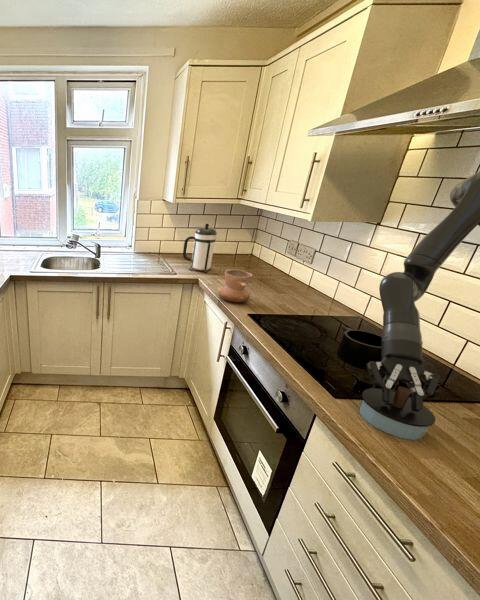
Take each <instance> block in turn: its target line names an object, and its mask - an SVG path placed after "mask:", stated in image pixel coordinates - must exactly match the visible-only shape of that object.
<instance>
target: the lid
mask: <svg viewBox="0 0 480 600" xmlns="http://www.w3.org/2000/svg"><path fill="white" fill-rule="evenodd" d="M411 395H412V394H411V390H410V389H409V388H408V387H407V386H403V385H402V386H398V387H397V389H396V391H393V404H392V405H385V402H383V401H382V389H381V388H375V387H373V388H372V387H371V388H366V389H364V390H363V391H362V393H361V398H362V401H363V400H364V401H365V403H366V404H367V405H368V406H370V407H371V408H372V409H374V410H375V411H377V412H378V413H380V414H382V415H384V416H386V417H388V418H390V419H392V420H395V421H398V422H400V423H404V424H407V425H412V426H418V427H428V426H430V427H432V426H433V425H434V424H435V423H436V420H437V419H436V416H435V414H434V413H433V412H432V411H431V410H430V409H429V408H428V407H426V406H425V405H424V404H423V409H421V410H420V411H417V412H415V411H412V410H411Z"/></svg>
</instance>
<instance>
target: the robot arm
mask: <svg viewBox="0 0 480 600" xmlns="http://www.w3.org/2000/svg"><path fill="white" fill-rule="evenodd" d="M449 200H450V202H451V204H452V205H453V209H452V211H451V212H449V214H447V215H446V217H445V218H444V219H443V220H442V221H440V222H439V223H438V224H437V225H436V226H435V227H434V228H433V229H431V230H430V231H429V232H428V233H427V234H426V235H425V236H423V238H421V240H420V241H419V242H418V243H417V245H416V246H415V247H414V248H412V250H411V252H410V253H409V254H408V255H407V256H406V257H405V259H404V261H403V271H394V272H393V271H392V272H391V273H388V274H386V275H385V276H384V277H383V278H382V279H381V280H380V283H379V286H378V287H379V290H378V292H379V297H380V302H381V307H382V310H383V314H382V331H381V336H382V351H381V357H382V360H381V361H380V362H375V361H371V362H369V363H367V364H366V366H367V369H368V370H367V369H366V370H367V372H368V375H369V378H370V381H371V384H372V385H373V386H376V387H379V389H382V401H383V402H385V405H392V404H393V392H394V391H393V389H392V387H393V385H394V383H395V382H396V381H400V382H402V383H405V385H406V388H408V389H410V390H411V394H410V398H411V410H412V411H415V412H417V411H420V410H421V409H423V405H424V397H430V396H433V395H434V394H435V391H436V389H437V386H438V385H439V384H438V383H439V381H440V379H441V375H440V374H439V373H437V372H435V373H432V372H429V371H427V370H426V369H425V368H424V366H423V360H424V359H423V337H422V331H421V317H420V312H419V309H418V308H417V306H416V302H417V301H419V300H420V299H421V298H422V297H423V296H424V295H425V294H426V292H427V290H428V288H429V287H430V285H431V283H432V281H433V279H434V277H435V274H436V272H437V271H438V270H439V269H440V268H441V267H442V266H443V264H444V263H445V262H446V261H447V259H448V258H449V257H450V256H451V255H452V253H453V252H454V251H455V250H456V249H457V248H458V247H459V245H460V244H461V243H462V242H463V241H464V240H465V239H466V237H468V235H469V234H470V233H471V232H472V231H474V229H475V228H476V227H477V226H478V227H480V171H478V172H476V173H474V174H472V175H470V176H468V177H467V178H465V179H463V180H462V181H460V182H458V183H457V184H455V185H454V186H453V187H452V189H451V190H450V192H449ZM380 367H381V368H382V369H381V370H383V372H384V373H385V375H384V377H383V379H382V376H381V373H380V370H379V369H380ZM420 377H423V380H424V384H423V386H422V382H421V380H420Z"/></svg>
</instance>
